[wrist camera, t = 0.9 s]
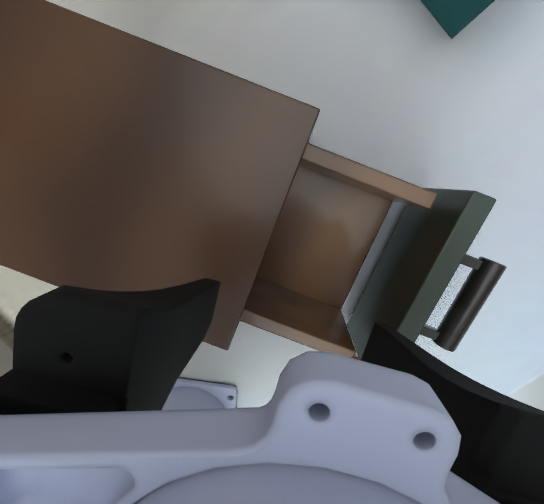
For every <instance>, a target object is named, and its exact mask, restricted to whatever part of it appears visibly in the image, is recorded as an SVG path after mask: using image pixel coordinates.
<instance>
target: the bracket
mask: <svg viewBox="0 0 544 504" xmlns="http://www.w3.org/2000/svg"><path fill="white" fill-rule="evenodd" d="M421 1H422V2H423V3H424V5H425V6H426V7H427V8H428V10H429V11H430V12H431V14H432V15H433V16H434V17H435V19H436V20H437V21H438V22H439V24H440V25H441V26H442V27H443V29H444V30H445V31H446V32H447V34H448V35H449V36H450V37H451V39H452V38H453V37H454V36H456V35H457V34H458V33H459V32H460V31H461V30H462V29H463V28H465V27H466V26H467V25H468V24H469V23H470V22H471V21H472V20H473V19H475V18H476V17H477V16H478V15H479V14H480V13H481V12H482V11H484V10H485V9H486V8H487V7H488V6H489V5H490V4H491V3H492V2H494V1H495V0H421Z"/></svg>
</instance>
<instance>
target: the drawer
mask: <svg viewBox="0 0 544 504" xmlns="http://www.w3.org/2000/svg"><path fill="white" fill-rule="evenodd" d="M392 202H398V203H402V204H407V205H406V207H405V209H404V211H403V213H402V215H401V217H400V219H399V221H398V223H397V226H396V228H395V230H394V232H393V234H392V236H391V238H390V240H389V242H388V244H387V246H386V248H385V250H384V252H383V254H382V256H381V258H380V260H379V262H378V264H377V266H376V268H375V270H374V272H373V274H372V276H371V278H370V280H369V282H368V284H367V286H366V288H365V290H364V292H363V294H362V296H361V298H360V300H359V302H358V304H357V306H356V308H355V310H354V312H353V314H352V316H351V318H350V320H349V322H348V324H347V326H346V323H345V320H344V317H343V315H342V312H341V308H342V305H343V303H344V301H345V299H346V297H347V295H348V293H349V291H350V289H351V287H352V285H353V283H354V281H355V278H356V276H357V274H358V272H359V270H360V268H361V266H362V264H363V262H364V260H365V258H366V256H367V254H368V252H369V249H370V247H371V245H372V243H373V241H374V239H375V237H376V235H377V233H378V231H379V229H380V227H381V225H382V223H383V220H384V218H385V216H386V214H387V212H388V210H389V208H390V206H391V204H392ZM495 202H496V199H495V198H492V197H489V196H487V195H484V194H482V193H479V192H477V191H470V190H452V189H435V188H421V187H419V186H416V185H414V184H411V183H409V182H406V181H403V180H401V179H398V178H396V177H393V176H391V175H388V174H386V173H383V172H381V171H378V170H375V169H373V168H370V167H368V166H365V165H363V164H360V163H358V162H355V161H353V160H350V159H347V158H345V157H342V156H340V155H337V154H335V153H332V152H330V151H327V150H325V149H322V148H319V147H317V146H314V145H312V144H309V143H307V146H306V148H305V151H304V154H303V156H302V159H301V161H300V164H299V167H298V169H297V172H296V174H295V177H294V180H293V182H292V185H291V187H290V190H289V193H288V195H287V198H286V200H285V203H284V206H283V208H282V211H281V214H280V216H279V219H278V221H277V224H276V227H275V229H274V232H273V234H272V237H271V240H270V242H269V245H268V247H267V250H266V253H265V255H264V258H263V260H262V263H261V266H260V268H259V271H258V273H257V276H256V279H255V281H254V284H253V286H252V289H251V292H250V294H249V297H248V299H247V302H246V305H245V307H244V310H243V312H242V315H241V318H240V321H242V322H245V323H248V324H250V325H253V326H256V327H258V328H261V329H263V330H266V331H269V332H271V333H274V334H277V335H279V336H282V337H284V338H287V339H290V340H292V341H295V342H298V343H300V344H303V345H306V346H308V347H311V348H313V349H316V350H319V351H321V352H330V353H334V354H338V355H341V356H345V357H349V358H353V356H354V354H355V352H356V351H357V354H358V357H359V360H361V357H362V355H363V352H364V349H365V347H366V344H367V342H368V339H369V336H370V334H371V331H372V329H373V326H374V323H377V324H381V325H385V326H388V327H391V328H392V329H394V330H396V331H398V332H399V333H401V334H402V335H404V336H405V337H406V338H408V339H409V340H411V341H412V342H415V341H416V339H417V337H418V336H419V334H420V335H423V336H426V337H428V338H431V339H432V340H433V341H434V342H435V343H436V344H437V345H438V346H440V347H442V348H443V349H445V350H448V351H451V352H453V351H455V349H456V348H457V346H458V345H459V343H460V341H461V340H462V338H463V337H464V335H465V333H466V332H467V330H468V329H469V327H470V325H471V324H472V322H473V320H474V319H475V317H476V316H477V314H478V312H479V311H480V309H481V308H482V306H483V304H484V303H485V301H486V300H487V298H488V296H489V295H490V293H491V292H492V290H493V288H494V287H495V285H496V284H497V282H498V280H499V279H500V277H501V276H502V274H503V272H504V271H505V269H506V266H504V265H502V264H499V263H497V262H494V261H492V260H489V259H487V258H484V257H479V259H477V258H474V257H472V256H469V255H467V254H466V252H467V251H468V249H469V247H470V245H471V244H472V242H473V240H474V238H475V237H476V235H477V233H478V231H479V230H480V228H481V226H482V225H483V223H484V221H485V219H486V218H487V216H488V214H489V212H490V211H491V209H492V207H493V205H494V204H495ZM459 264H463V265H466V266H468V267H471V268H473V269H472V271H471V272H470V274H469V276H468V277H467V279H466V281H465V282H464V284H463V286H462V287H461V289H460V291H459V293H458V294H457V296H456V298H455V299H454V301H453V303H452V304H451V306H450V308H449V309H448V311H447V313H446V314H445V316H444V318H443V320H442V321H441V323H440V325H439V326H438V328H437V329H436V328H433V327H431V326H428V325H426V324H425V323H426V322H427V320H428V318H429V316H430V315H431V313H432V311H433V310H434V308H435V306H436V304H437V303H438V301H439V299H440V297H441V296H442V294H443V292H444V290H445V289H446V287H447V285H448V283H449V282H450V280H451V278H452V277H453V275H454V273H455V271H456V270H457V268H458V266H459ZM347 327H348V329H349V331H348V329H347ZM349 332H350V334H349ZM350 335H351V337H350ZM351 338H352V340H353V342H352V340H351ZM353 343H354V345H353ZM354 346H355V348H354ZM355 349H356V351H355Z"/></svg>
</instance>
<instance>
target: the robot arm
mask: <svg viewBox="0 0 544 504" xmlns="http://www.w3.org/2000/svg"><path fill="white" fill-rule="evenodd" d="M220 283H221V281H217V280H213V279H210V278H204V279H200V280H196V281H193V282H189V283H186V284H182V285H178V286H173V287H169V288H164V289H157V290H148V291H106V290H96V289H88V288H81V287H75V286H69V285H63V286H61V287H58V288H56V289H54V290H52V291H50V292H48V293H45V294H43V295H41V296H39V297H37V298H35V299H32V300H30V301H29V302H28V303H27V304H25V305H24V306H23V307H22V308H21V310H20V312H19V313H18V315H17V317H16V321H15V326H14V346H13V369H12V370H10V371H9V372H7V373H6V374H4V375H3V376H1V377H0V504H544V411H542V410H539V409H536V408H534V407H532V406H529V405H526V404H524V403H522V402H519V401H517V400H514V399H512V398H510V397H508V396H505V395H503V394H501V393H499V392H497V391H494V390H492V389H490V388H488V387H486V386H484V385H482V384H480V383H478V382H476V381H474V380H472V379H470V378H469V377H467V376H465V375H463V374H462V373H460V372H458V371H456V370H454V369H453V368H451V367H449V366H448V365H446V364H445V363H443V362H442V361H440V360H438V359H437V358H435V357H434V356H432V355H431V354H429V353H428V352H426V351H425V350H424V349H422V348H421V347H419V346H418V345H416V344H415V343H414V342H412V341H411V340H409V339H408V338H406V337H405V336H404V335H402V334H401V333H399V332H398V331H396V330H394V329H392V328H391V327H388V326H385V325H381V324H377V323H374V326H373V329H372V331H371V334H370V336H369V339H368V342H367V344H366V347H365V349H364V352H363V355H362V357H361V360H356V359H353V358H349V357H345V356H341V355H338V354H334V353H330V352H315V351H307V352H305V353H303V354H301V355H299V356H297V357H295V358H293V359H290V361H289V362H288V364H287V365H286V367H285V368H284V370H283V371H282V372H281V374H280V377H279V380H278V383H277V387H276V390H275V393H274V395H273V397H272V399H271V400H270V401H269V403H268V404H266V405H264V406H262V407H257V408H236V401H237V388H236V387H235V386H231V385H224V384H217V383H210V382H202V381H195V380H188V379H181V378H178V377H179V376H180V374H181V373H182V371H183V369H184V368H185V366H186V365H187V363H188V362H189V360H190V359H191V357H192V356H193V354H194V353H195V351H196V350H197V348H198V347H199V345H200V344H201V342H202V341H203V339H204V337H205V335H206V333H207V331H208V329H209V327H210V324H211V322H212V318H213V314H214V310H215V305H216V301H217V296H218V292H219V287H220ZM229 395H231V396H233V397H230V396H229Z"/></svg>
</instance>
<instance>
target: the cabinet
mask: <svg viewBox="0 0 544 504" xmlns="http://www.w3.org/2000/svg"><path fill="white" fill-rule="evenodd" d="M319 112H320V109H319V108H316V107H314V106H311V105H309V104H306V103H303V102H301V101H298V100H296V99H293V98H291V97H288V96H286V95H283V94H281V93H278V92H276V91H273V90H271V89H268V88H266V87H263V86H260V85H258V84H255V83H253V82H250V81H248V80H245V79H243V78H240V77H238V76H235V75H233V74H230V73H228V72H225V71H223V70H220V69H217V68H215V67H212V66H210V65H207V64H205V63H202V62H200V61H197V60H195V59H192V58H190V57H187V56H185V55H182V54H180V53H177V52H174V51H172V50H169V49H167V48H164V47H162V46H159V45H157V44H154V43H152V42H149V41H147V40H144V39H142V38H139V37H137V36H134V35H131V34H129V33H126V32H124V31H121V30H119V29H116V28H114V27H111V26H109V25H106V24H104V23H101V22H99V21H96V20H94V19H91V18H88V17H86V16H83V15H81V14H78V13H76V12H73V11H71V10H68V9H66V8H63V7H61V6H58V5H56V4H53V3H51V2H48V1H45V0H0V265H2V266H5V267H8V268H10V269H13V270H16V271H18V272H21V273H24V274H26V275H29V276H31V277H34V278H37V279H39V280H42V281H45V282H47V283H50V284H53V285H55V286H58V287H61V286H63V285H69V286H75V287H81V288H88V289H96V290H106V291H148V290H157V289H164V288H169V287H173V286H178V285H182V284H186V283H189V282H193V281H196V280H200V279H204V278H210V279H213V280H217V281H221V283H220V287H219V292H218V296H217V301H216V305H215V310H214V314H213V318H212V322H211V324H210V327H209V329H208V331H207V333H206V335H205V337H204V339H203V342H206V343H209V344H211V345H214V346H217V347H219V348H222V349H225V350H228V349H229V346H230V344H231V341H232V339H233V336H234V333H235V331H236V328H237V326H238V323H239V321H240V318H241V315H242V312H243V310H244V307H245V305H246V302H247V299H248V297H249V294H250V292H251V289H252V286H253V284H254V281H255V279H256V276H257V273H258V271H259V268H260V266H261V263H262V260H263V258H264V255H265V253H266V250H267V247H268V245H269V242H270V240H271V237H272V234H273V232H274V229H275V227H276V224H277V221H278V219H279V216H280V214H281V211H282V208H283V206H284V203H285V200H286V198H287V195H288V193H289V190H290V187H291V185H292V182H293V180H294V177H295V174H296V172H297V169H298V167H299V164H300V161H301V159H302V156H303V154H304V151H305V148H306V146H307V143H308V142H309V139H310V136H311V134H312V131H313V128H314V126H315V123H316V120H317V117H318V115H319Z"/></svg>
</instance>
